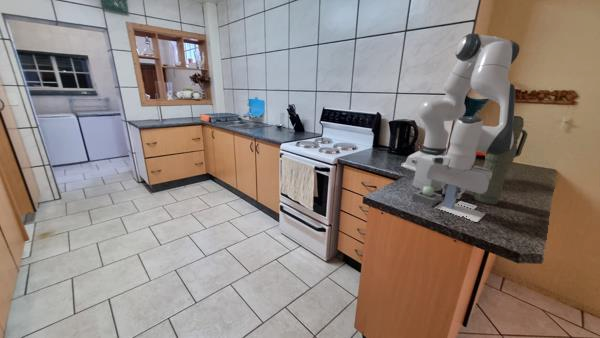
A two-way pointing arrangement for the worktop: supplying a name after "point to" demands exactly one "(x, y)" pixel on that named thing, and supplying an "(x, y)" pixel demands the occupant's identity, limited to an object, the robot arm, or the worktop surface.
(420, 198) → the button housing
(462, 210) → the white flat plate
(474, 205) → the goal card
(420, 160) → the supplement box
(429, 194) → the button
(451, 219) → the worktop surface
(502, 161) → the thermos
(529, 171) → the worktop surface
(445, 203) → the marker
